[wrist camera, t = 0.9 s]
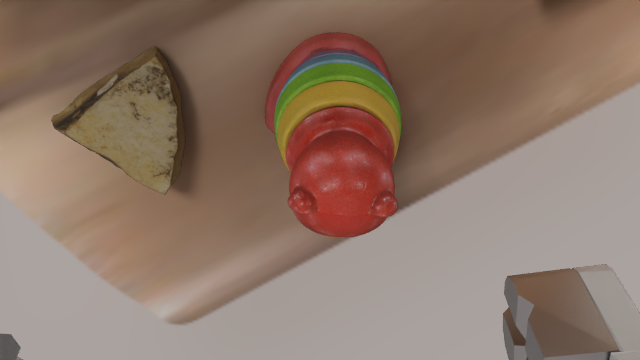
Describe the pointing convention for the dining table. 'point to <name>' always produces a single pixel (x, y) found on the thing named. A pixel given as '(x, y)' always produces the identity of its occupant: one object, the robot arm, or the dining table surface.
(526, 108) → the dining table surface
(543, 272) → the robot arm
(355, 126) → the stacking bear
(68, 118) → the rock
